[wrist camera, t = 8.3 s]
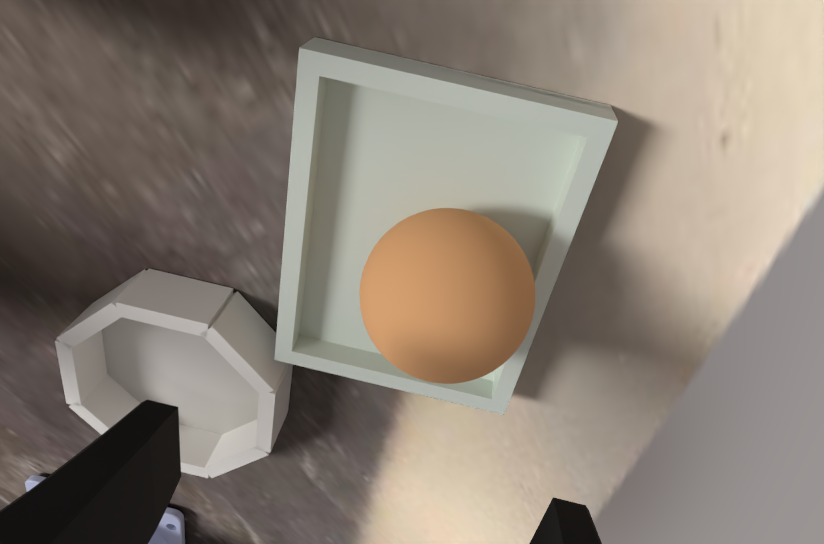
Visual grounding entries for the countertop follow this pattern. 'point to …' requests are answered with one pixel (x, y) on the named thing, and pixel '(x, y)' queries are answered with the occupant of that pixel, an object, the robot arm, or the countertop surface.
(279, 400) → the bowl
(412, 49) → the countertop surface
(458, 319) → the rubber ball
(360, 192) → the tray
